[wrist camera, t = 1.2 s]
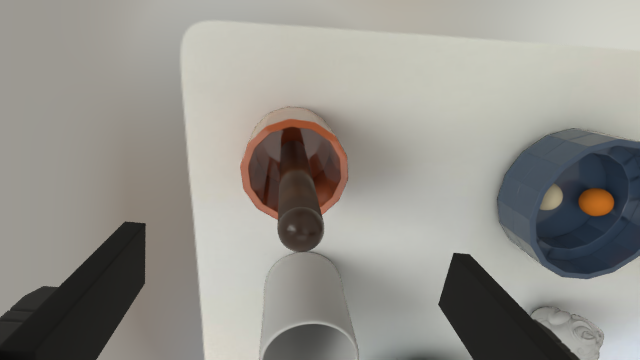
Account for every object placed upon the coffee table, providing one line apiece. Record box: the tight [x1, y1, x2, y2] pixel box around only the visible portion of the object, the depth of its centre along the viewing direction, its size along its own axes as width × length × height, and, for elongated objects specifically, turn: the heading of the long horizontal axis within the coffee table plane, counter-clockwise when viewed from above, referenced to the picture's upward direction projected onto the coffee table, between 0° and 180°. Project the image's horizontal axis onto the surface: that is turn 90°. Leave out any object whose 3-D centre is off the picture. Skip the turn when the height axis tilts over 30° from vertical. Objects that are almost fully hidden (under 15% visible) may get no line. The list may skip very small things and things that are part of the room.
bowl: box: [497, 128, 640, 279], centre depth 37 cm, size 14×14×6 cm
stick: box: [278, 140, 324, 252], centre depth 26 cm, size 2×2×18 cm
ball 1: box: [540, 183, 563, 210], centre depth 37 cm, size 3×3×3 cm
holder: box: [240, 107, 348, 220], centre depth 31 cm, size 8×8×8 cm
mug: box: [259, 252, 359, 360], centre depth 35 cm, size 12×8×11 cm
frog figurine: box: [530, 307, 604, 360], centre depth 41 cm, size 6×7×7 cm
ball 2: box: [578, 188, 614, 216], centre depth 38 cm, size 3×3×3 cm
